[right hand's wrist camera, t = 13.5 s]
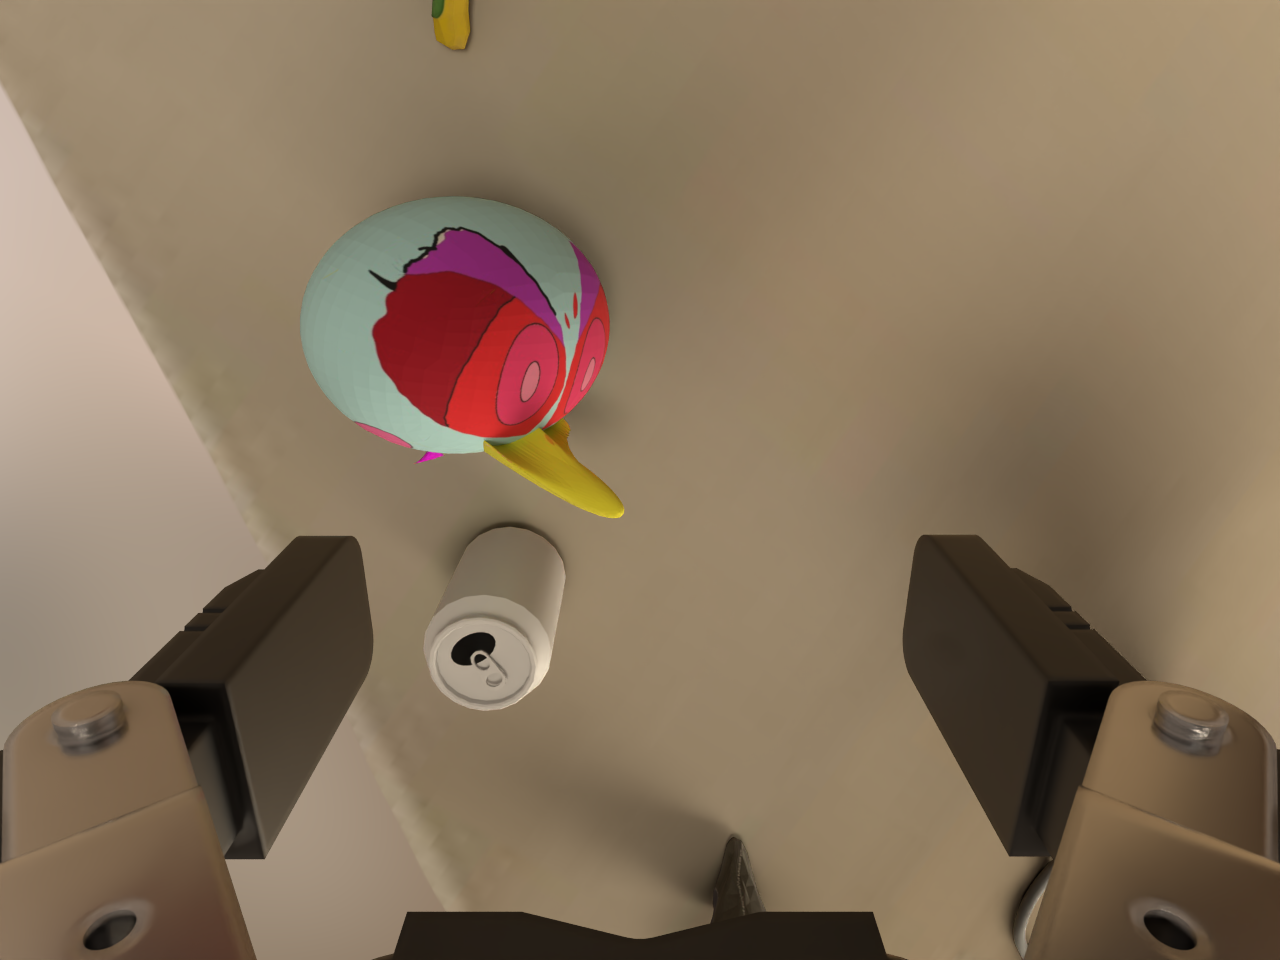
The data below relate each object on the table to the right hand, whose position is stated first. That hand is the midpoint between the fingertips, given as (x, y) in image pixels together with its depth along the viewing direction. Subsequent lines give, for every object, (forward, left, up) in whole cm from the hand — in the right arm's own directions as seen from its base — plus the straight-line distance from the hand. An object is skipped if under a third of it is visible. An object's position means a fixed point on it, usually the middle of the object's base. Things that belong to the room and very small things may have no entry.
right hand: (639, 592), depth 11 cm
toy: (+3, -8, -39) cm, 40 cm away
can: (+20, -9, -39) cm, 45 cm away
